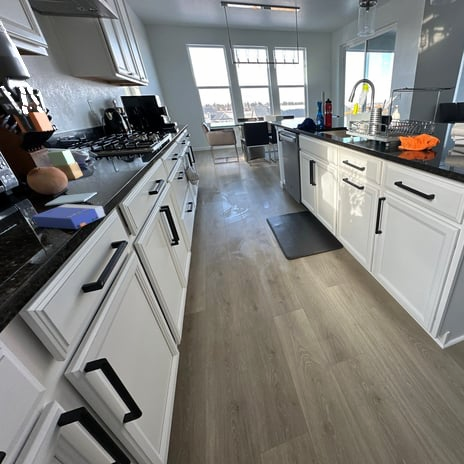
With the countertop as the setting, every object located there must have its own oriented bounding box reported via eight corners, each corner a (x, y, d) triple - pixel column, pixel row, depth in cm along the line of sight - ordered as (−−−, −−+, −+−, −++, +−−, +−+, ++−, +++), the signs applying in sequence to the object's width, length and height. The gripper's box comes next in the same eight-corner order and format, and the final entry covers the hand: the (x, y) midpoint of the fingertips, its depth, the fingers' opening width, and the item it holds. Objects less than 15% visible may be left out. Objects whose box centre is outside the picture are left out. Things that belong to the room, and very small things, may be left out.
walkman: (37, 226, 60) (77, 229, 58) (31, 216, 59) (71, 218, 57) (71, 213, 67) (107, 215, 65) (65, 203, 66) (103, 205, 63)
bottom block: (59, 180, 99) (52, 166, 96) (67, 176, 104) (60, 163, 101) (75, 178, 100) (68, 164, 98) (83, 175, 105) (76, 161, 102)
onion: (52, 205, 82) (23, 183, 74) (40, 193, 86) (10, 171, 78) (81, 188, 87) (56, 165, 79) (68, 177, 90) (43, 154, 82)
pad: (45, 205, 73) (44, 204, 73) (61, 197, 80) (61, 195, 80) (84, 201, 75) (83, 200, 75) (97, 193, 82) (96, 192, 82)
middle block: (53, 166, 97) (46, 152, 94) (61, 163, 101) (54, 150, 99) (68, 164, 98) (61, 151, 95) (75, 162, 102) (69, 149, 100)
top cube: (22, 132, 67) (12, 113, 65) (34, 130, 71) (25, 112, 69) (42, 131, 68) (33, 112, 66) (53, 129, 72) (44, 111, 70)
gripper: (4, 60, 67) (39, 129, 75) (-49, 51, 54) (1, 134, 62) (37, 60, 68) (68, 127, 76) (-7, 50, 56) (36, 132, 64)
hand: (38, 130), depth 69 cm, fingers closed on top cube, 4 cm apart
